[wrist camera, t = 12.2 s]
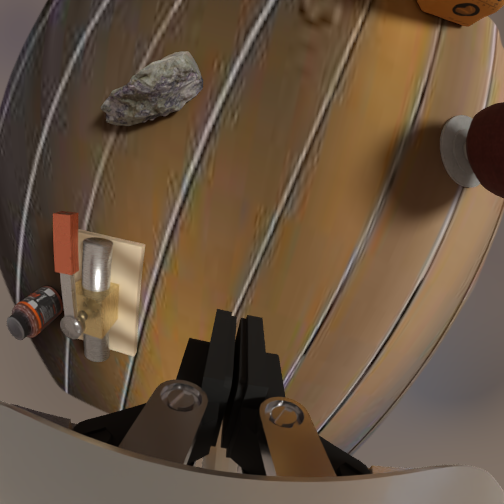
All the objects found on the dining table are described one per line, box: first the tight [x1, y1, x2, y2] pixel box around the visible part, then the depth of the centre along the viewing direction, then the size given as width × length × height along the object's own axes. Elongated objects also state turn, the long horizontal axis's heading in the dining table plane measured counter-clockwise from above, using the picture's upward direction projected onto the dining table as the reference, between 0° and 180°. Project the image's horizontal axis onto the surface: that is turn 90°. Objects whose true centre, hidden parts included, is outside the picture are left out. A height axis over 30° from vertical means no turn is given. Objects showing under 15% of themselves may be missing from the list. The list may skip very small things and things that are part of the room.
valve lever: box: [53, 211, 86, 339], centre depth 31 cm, size 16×3×2 cm, turn 172°
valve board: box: [74, 229, 145, 356], centre depth 43 cm, size 19×12×2 cm, turn 167°
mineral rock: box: [101, 51, 203, 126], centre depth 31 cm, size 13×11×10 cm
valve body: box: [75, 237, 119, 362], centre depth 38 cm, size 19×6×8 cm, turn 167°
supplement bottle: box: [7, 286, 63, 340], centre depth 38 cm, size 6×6×11 cm
